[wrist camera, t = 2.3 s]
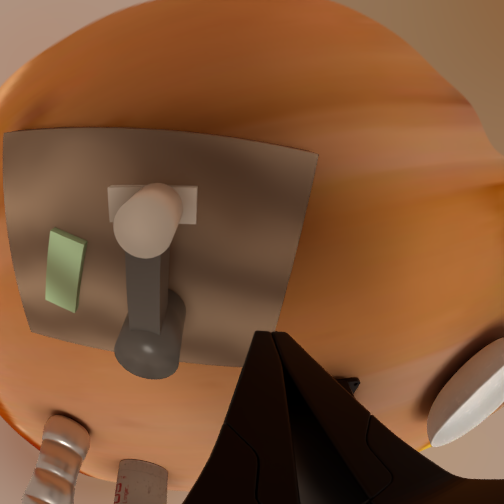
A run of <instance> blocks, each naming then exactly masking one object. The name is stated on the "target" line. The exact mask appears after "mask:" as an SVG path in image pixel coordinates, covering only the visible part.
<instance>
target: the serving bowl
mask: <svg viewBox="0 0 504 504" xmlns="http://www.w3.org/2000/svg"><path fill="white" fill-rule="evenodd" d="M503 402H504V337H503V338H500V339H498V340H496V341H494V342H492V343H490V344H489V345H487V346H486V347H484V348H483V349H481V350H480V351H479V352H478V353H476V354H475V355H474V356H473V357H472V358H471V359H469V360H468V361H467V362H466V363H465V364H464V365H463V366H462V367H461V368H460V369H459V370H458V371H457V372H456V373H455V374H454V375H453V376H452V378H451V379H450V380H449V381H448V382H447V384H446V385H445V386H444V387H443V389H442V390H441V391H440V393H439V394H438V396H437V397H436V399H435V401H434V403H433V405H432V407H431V409H430V412H429V415H428V420H427V433H428V438H429V441H430V444H431V445H432V446H433V447H439V446H442V445H445V444H448V443H450V442H452V441H454V440H456V439H458V438H460V437H461V436H463V435H464V434H466V433H467V432H469V431H470V430H472V429H473V428H475V427H476V426H477V425H478V424H480V423H481V422H482V421H483V420H485V419H486V418H487V417H488V416H489V415H490V414H492V413H493V412H494V411H495V410H496V409H497V408H498V407H499V406H500V405H501V404H502V403H503Z"/></svg>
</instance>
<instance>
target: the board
mask: <svg viewBox="0 0 504 504" xmlns="http://www.w3.org/2000/svg"><path fill="white" fill-rule="evenodd" d="M318 156H319V154H316V153H313V152H310V151H307V150H302V149H297V148H293V147H288V146H282V145H277V144H272V143H266V142H261V141H255V140H248V139H242V138H235V137H228V136H221V135H213V134H205V133H196V132H186V131H176V130H163V129H148V128H128V127H62V128H43V129H29V130H19V131H13V132H7V133H4V137H3V187H4V203H5V214H6V223H7V231H8V238H9V244H10V250H11V256H12V261H13V266H14V271H15V276H16V280H17V284H18V289H19V293H20V296H21V300H22V304H23V307H24V311H25V314H26V317H27V321H28V324H29V327H30V330H31V332H34V333H37V334H41V335H44V336H48V337H51V338H55V339H59V340H63V341H67V342H71V343H75V344H79V345H84V346H88V347H93V348H98V349H103V350H108V351H113V352H114V347H115V343H116V341H117V338H118V336H119V333H120V331H121V328H122V326H123V323H124V321H125V318H126V316H127V313H128V304H127V289H126V267H125V250H124V249H123V248H122V247H121V246H120V245H119V243H118V242H117V240H116V237H115V234H114V229H113V224H114V218H115V215H116V213H117V211H118V210H119V208H120V207H121V206H122V205H123V204H124V203H126V202H127V201H128V200H129V199H130V198H131V197H132V196H134V195H135V194H136V193H137V192H138V191H139V190H140V189H142V188H143V187H144V186H146V185H149V184H152V183H163V184H166V185H168V186H170V187H172V188H173V189H174V190H175V191H176V192H177V193H178V194H179V196H180V198H181V200H182V204H183V213H182V217H181V219H180V222H179V224H178V227H177V229H176V232H175V234H174V236H173V239H172V241H171V244H170V257H169V279H168V289H170V290H172V291H174V292H175V293H176V294H177V295H178V296H179V297H180V298H181V299H182V301H183V302H184V305H185V308H186V315H185V322H184V329H183V336H182V343H181V350H180V358H179V362H186V363H195V364H206V365H217V366H231V367H243V365H244V362H245V359H246V356H247V353H248V350H249V347H250V344H251V341H252V338H253V335H254V332H255V331H256V330H260V331H269V332H273V331H275V329H276V325H277V322H278V318H279V314H280V311H281V307H282V304H283V300H284V296H285V293H286V289H287V285H288V281H289V278H290V274H291V270H292V266H293V262H294V258H295V254H296V250H297V246H298V242H299V238H300V234H301V230H302V226H303V222H304V218H305V214H306V209H307V205H308V201H309V197H310V192H311V188H312V183H313V179H314V174H315V170H316V165H317V161H318Z"/></svg>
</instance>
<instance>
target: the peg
mask: <svg viewBox="0 0 504 504" xmlns="http://www.w3.org/2000/svg"><path fill="white" fill-rule="evenodd" d="M182 213H183V204H182V200H181V198H180V196H179V194H178V193H177V192H176V191H175V190H174V189H173V188H172V187H170V186H168V185H166V184H163V183H152V184H149V185H146V186H144V187H143V188H142V189H140V190H139V191H138V192H137V193H136V194H135V195H134V196H132V197H131V198H130V199H129V200H128V201H127V202H126V203H124V204H123V205H122V206H121V207H120V208H119V210H118V211H117V213H116V215H115V218H114V224H113V229H114V234H115V237H116V240H117V242H118V243H119V245H120V246H121V247H122V248H123V249H124V250H125V267H126V289H127V304H128V313H127V316H126V318H125V321H124V323H123V326H122V328H121V331H120V333H119V336H118V338H117V341H116V343H115V347H114V352H115V356H116V358H117V360H118V362H119V363H120V364H121V365H122V366H123V367H124V368H125V369H126V370H127V371H129V372H131V373H132V374H134V375H136V376H139V377H142V378H146V379H163V378H166V377H169V376H171V375H172V374H173V373H175V371H176V370H177V368H178V365H179V358H180V350H181V343H182V336H183V329H184V322H185V315H186V308H185V305H184V302H183V301H182V299H181V298H180V297H179V296H178V295H177V294H176V293H175V292H174V291H172V290H170V289H168V279H169V257H170V244H171V241H172V239H173V236H174V234H175V232H176V229H177V227H178V224H179V222H180V219H181V217H182Z"/></svg>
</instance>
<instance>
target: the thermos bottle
mask: <svg viewBox="0 0 504 504" xmlns="http://www.w3.org/2000/svg"><path fill="white" fill-rule="evenodd" d="M167 480H168V472H167V471H166V470H165V469H164V468H162V467H160V466H158V465H156V464H153V463H149V462H145V461H141V460H133V459H126V460H122V461H121V462H120V464H119V471H118V477H117V484H116V491H115V499H114V504H166V501H167Z"/></svg>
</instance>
